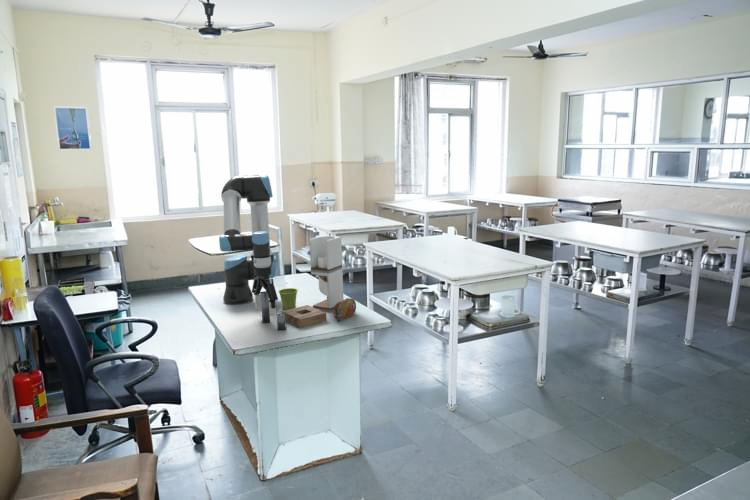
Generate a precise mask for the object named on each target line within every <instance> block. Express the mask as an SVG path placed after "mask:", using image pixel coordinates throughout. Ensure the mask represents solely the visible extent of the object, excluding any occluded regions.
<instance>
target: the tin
mask: <svg viewBox="0 0 750 500" xmlns="http://www.w3.org/2000/svg"><path fill="white" fill-rule="evenodd" d="M356 310H357V303H356V300H355V299H354V298H349V297H347V298H345V299H344V300H342V301H340V302H338V303H337V304H336V305H335V306H334V311H333V317H334V319H335V320H336V321H341V322H342V321H345V320H347V319H349V318H350V317H353V316H354V315H355V313H356Z"/></svg>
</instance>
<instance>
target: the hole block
mask: <svg viewBox="0 0 750 500" xmlns="http://www.w3.org/2000/svg"><path fill="white" fill-rule="evenodd" d="M281 313H285V323H288V324H291V325H293V326H295V327H298V328H299V329H301V328H305V327H309V326H313V325H316V324H320V323H324V322H327V312H325V311H321V310H319V309H316V308H314V307H313V306H311V305H308V304H305V305H302V306H297V307H295V308H291V309H284V310H282V311H281Z"/></svg>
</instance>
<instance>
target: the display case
mask: <svg viewBox="0 0 750 500" xmlns="http://www.w3.org/2000/svg"><path fill="white" fill-rule="evenodd" d="M308 241H309V242H308V243H309V258H310V259H309V260H310V274H311V275H315V276H318V289H319V291H320V293H321V294H323V295H324V296H325V297H326V299H324V300H322V301H320V302H317V303H315V304H313V305H312V307H314V308H316V309H319V310H321V311H324V312H326V313H332V312H333V313H334V306H335V305H336V304H337V303H338V302H340V301H342V300H345V299H344V278H343V277H344V275H343V253H342V252H343V249H342V236H337V235H336V236H334V235H325V234H324V235H319V236H316V237H312V238H310V239H309V240H308Z"/></svg>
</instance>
